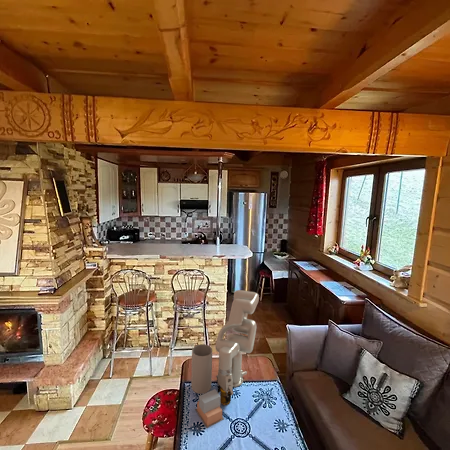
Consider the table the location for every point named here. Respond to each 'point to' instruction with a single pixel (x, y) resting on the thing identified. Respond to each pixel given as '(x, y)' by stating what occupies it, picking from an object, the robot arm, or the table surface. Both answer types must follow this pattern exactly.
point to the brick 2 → (210, 415)
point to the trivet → (204, 421)
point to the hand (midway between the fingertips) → (224, 396)
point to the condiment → (223, 397)
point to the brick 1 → (209, 401)
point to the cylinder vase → (201, 368)
